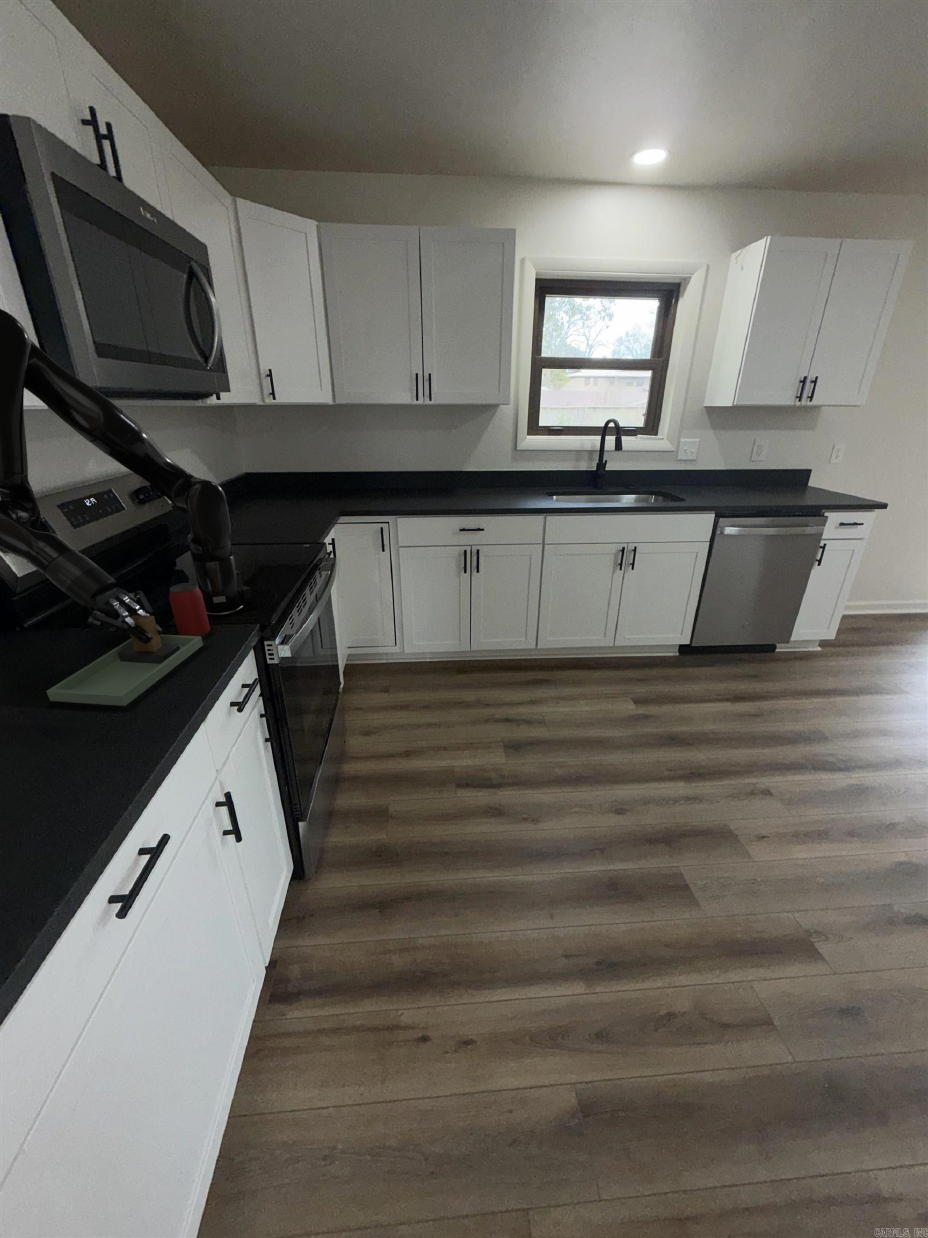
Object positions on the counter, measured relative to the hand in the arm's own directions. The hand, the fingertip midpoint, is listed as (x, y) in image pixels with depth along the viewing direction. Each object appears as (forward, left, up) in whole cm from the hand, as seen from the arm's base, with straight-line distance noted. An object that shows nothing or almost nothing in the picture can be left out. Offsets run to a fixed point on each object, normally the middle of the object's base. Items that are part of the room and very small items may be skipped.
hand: (154, 637), depth 101 cm
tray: (+5, +1, -6) cm, 8 cm away
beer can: (-11, -7, -6) cm, 14 cm away
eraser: (+1, -2, -5) cm, 5 cm away
